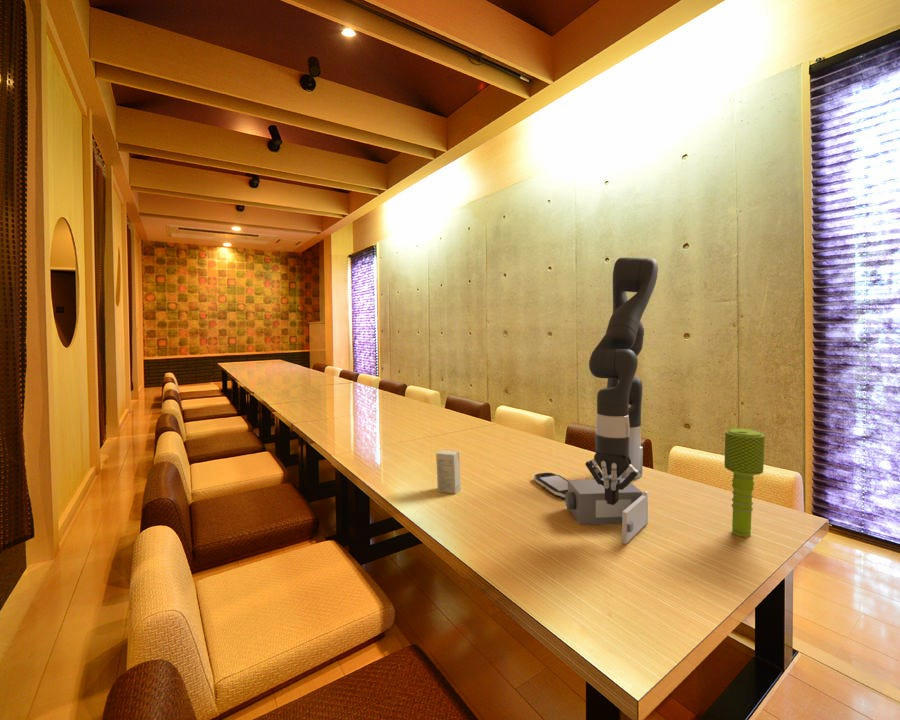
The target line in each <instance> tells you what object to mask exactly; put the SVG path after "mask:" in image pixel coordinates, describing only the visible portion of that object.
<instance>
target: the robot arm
mask: <svg viewBox="0 0 900 720" xmlns="http://www.w3.org/2000/svg"><path fill="white" fill-rule="evenodd" d="M658 270H659V265H658V261H657V260H656V259H654V258H649V257H648V258H646V257H644V258H643V257H620V258H618V259H616V261H615V262H614V266H613V271H612V315H611V316H610V317H609V318H610V319H609V320H608V325H607V327H606V331H605V334H604V336H603V337H602V339H601V340H600V341H599V343H598V344H597V345H596V346H595V348H594V349H593V351H592V353H591V355H590V357H589V361H588V367H589V371H590V373H591V375H592V376H594V377H595V378H599V379H607V381H606V388H601V389H599V390H598V392H597V395H596V418H595V419H596V420H595V453H594V455H593V459H590V460H587V461H586V462H585V463H584V464H585V467H586V469H587V470H588V471H589V473H590V475H592V478H593V479H595V480H596V482H597V483H598V484H599V485H600V484H601V485H602V486H604V488H605V501H607V504H610V505H615V504H616V503H617V502H618V500H619V489H620V490H623V489H624V488H625V487H627V486H628V485H629V484H630V483H632V482H633V481H634V480H638V479H639V478H640V477H642V476H643V464H644V463H643V459H644V458H643V456H644V454H643V453H644V449H643V446H641V445H642V444H641V443H642V442H641V441H642V440H641V439H642V438H641V436H642V435H641V431H642V429H641V427H642V400H643V382H642V379H641V378H640V377H638V376H635V375H636V372H637V370H638V365H639V360H638V356H639V355H640V354H641V352H642V349H643V345H644V344H643V342H644V338H645V337H644V336H645V328H644V325H643V323H642V321H641V320H642V317H643V314H644V312H645V310H646V308H647V306H648V303H650V302H649V301H650V300H651V296H652V294H653V292H654V289H655V288H656V287H655V286H656V284H657V279H658V273H659V271H658ZM627 292H628V293H635V294H634V295H633V296H631V297H630V298H629V299H628V295H627ZM621 478H625V480H624V481H623V482H622V483H620V480H621Z"/></svg>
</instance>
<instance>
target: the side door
mask: <svg viewBox="0 0 900 720" xmlns="http://www.w3.org/2000/svg"><path fill="white" fill-rule="evenodd" d="M642 492H643V495H642V496H640V497H639V498H638V499H637V500H636V501H634V502H633V503H632V504H631V505H630V506H629V507H627V508H626V509H625V510H624V511H623V512H622V523H621V524H622V525H621V526H622V527H621V543H623V544H628V543H629V542H630V540H632V538H634V536H635V535H637V534H638V533H639V532H640V531H641V530H642V529H643V528H644V527H645V526H647V525H648V524H649V523H648V522H649V515H648V514H649V491H646V490H643V491H642Z"/></svg>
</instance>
